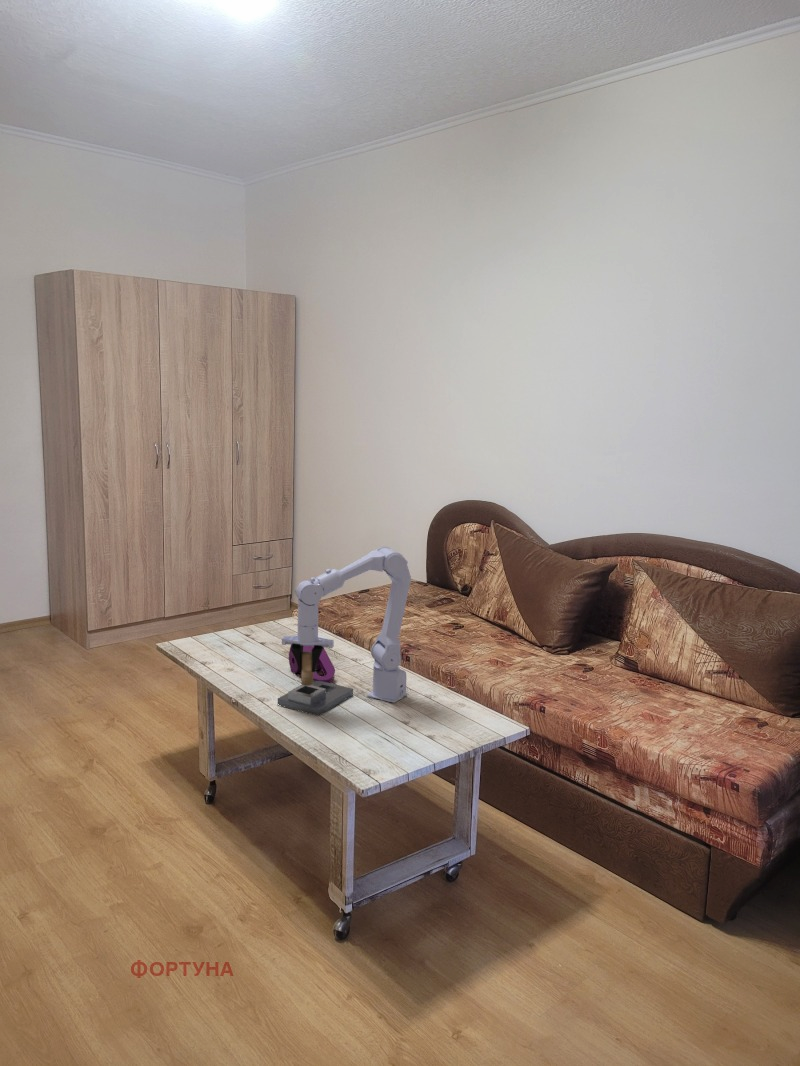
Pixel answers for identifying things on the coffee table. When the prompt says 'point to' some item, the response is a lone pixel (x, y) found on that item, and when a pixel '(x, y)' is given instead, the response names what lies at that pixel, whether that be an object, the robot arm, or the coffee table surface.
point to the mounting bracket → (322, 664)
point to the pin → (307, 669)
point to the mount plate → (315, 697)
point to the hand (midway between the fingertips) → (307, 670)
